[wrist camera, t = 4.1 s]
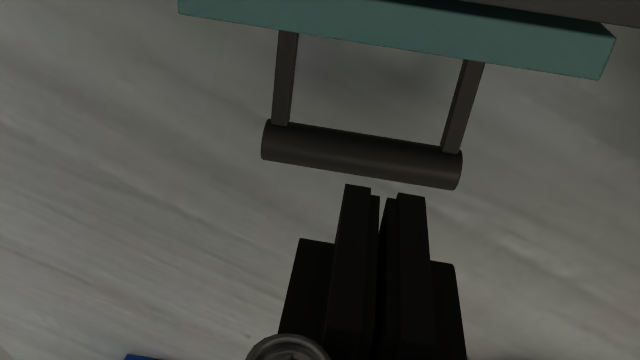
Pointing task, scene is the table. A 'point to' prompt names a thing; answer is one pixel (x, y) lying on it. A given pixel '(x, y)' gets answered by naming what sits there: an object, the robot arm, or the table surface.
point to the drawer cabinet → (578, 9)
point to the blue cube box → (137, 358)
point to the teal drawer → (414, 35)
